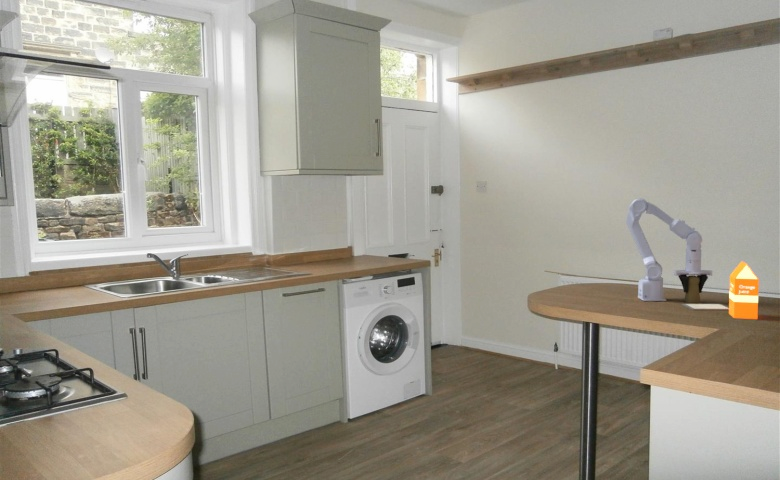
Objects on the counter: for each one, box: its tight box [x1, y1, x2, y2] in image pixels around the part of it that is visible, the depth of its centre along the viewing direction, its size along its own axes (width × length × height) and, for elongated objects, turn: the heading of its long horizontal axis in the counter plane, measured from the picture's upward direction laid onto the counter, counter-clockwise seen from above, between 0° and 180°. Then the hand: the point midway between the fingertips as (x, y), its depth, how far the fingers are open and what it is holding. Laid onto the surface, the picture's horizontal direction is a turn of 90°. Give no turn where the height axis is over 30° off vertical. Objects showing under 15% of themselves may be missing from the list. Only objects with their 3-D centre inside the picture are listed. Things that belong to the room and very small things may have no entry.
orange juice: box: [728, 261, 760, 320], centre depth 217 cm, size 8×9×20 cm
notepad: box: [681, 303, 729, 311], centre depth 235 cm, size 15×11×1 cm
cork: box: [683, 275, 701, 304], centre depth 246 cm, size 6×6×11 cm
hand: (692, 292), depth 246 cm, fingers closed on cork, 5 cm apart
